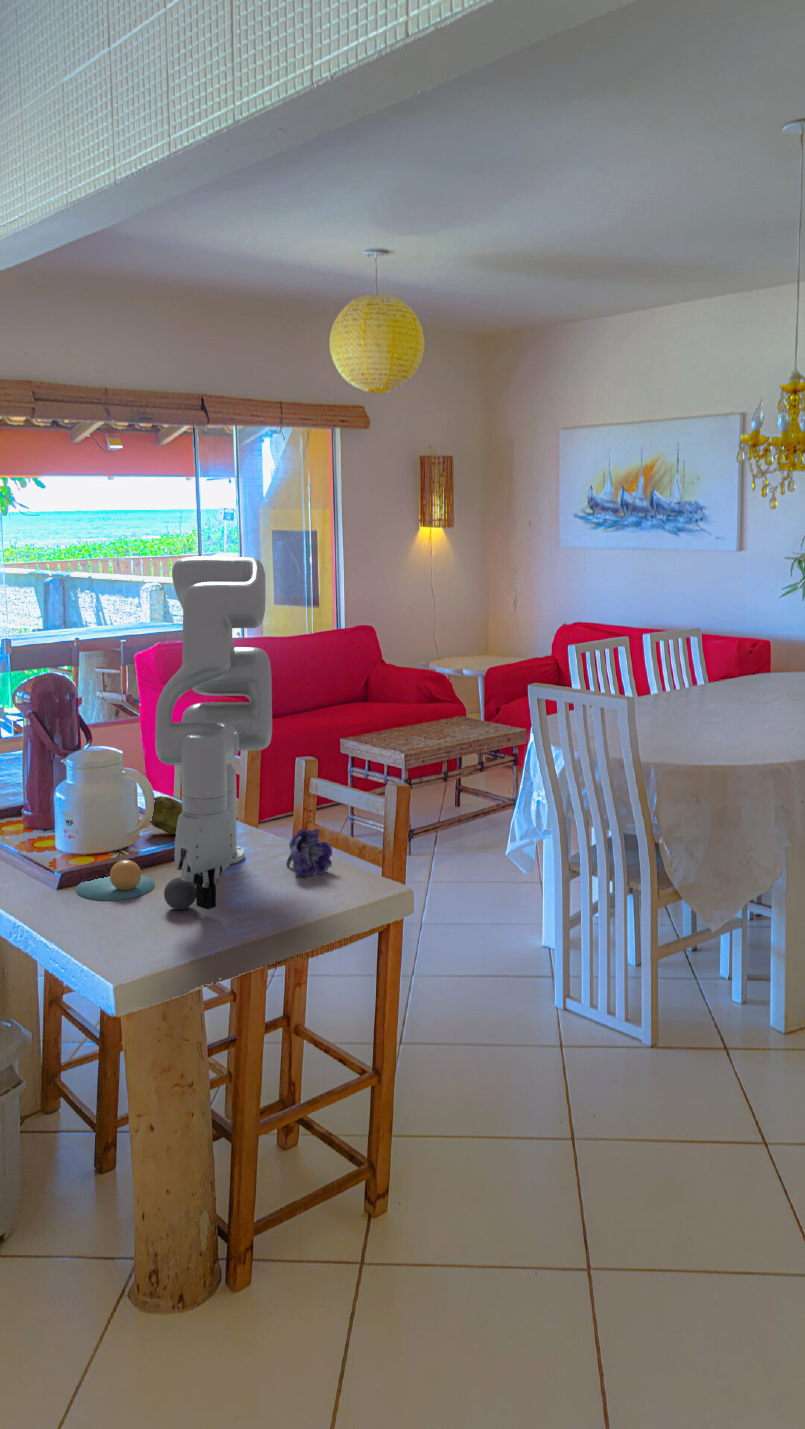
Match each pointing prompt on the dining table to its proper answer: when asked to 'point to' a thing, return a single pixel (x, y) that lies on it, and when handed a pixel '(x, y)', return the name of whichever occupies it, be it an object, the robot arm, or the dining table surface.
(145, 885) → the teal flat disc
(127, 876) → the object ball
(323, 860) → the flower
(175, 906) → the dark grey ball
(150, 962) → the dining table surface
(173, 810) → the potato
